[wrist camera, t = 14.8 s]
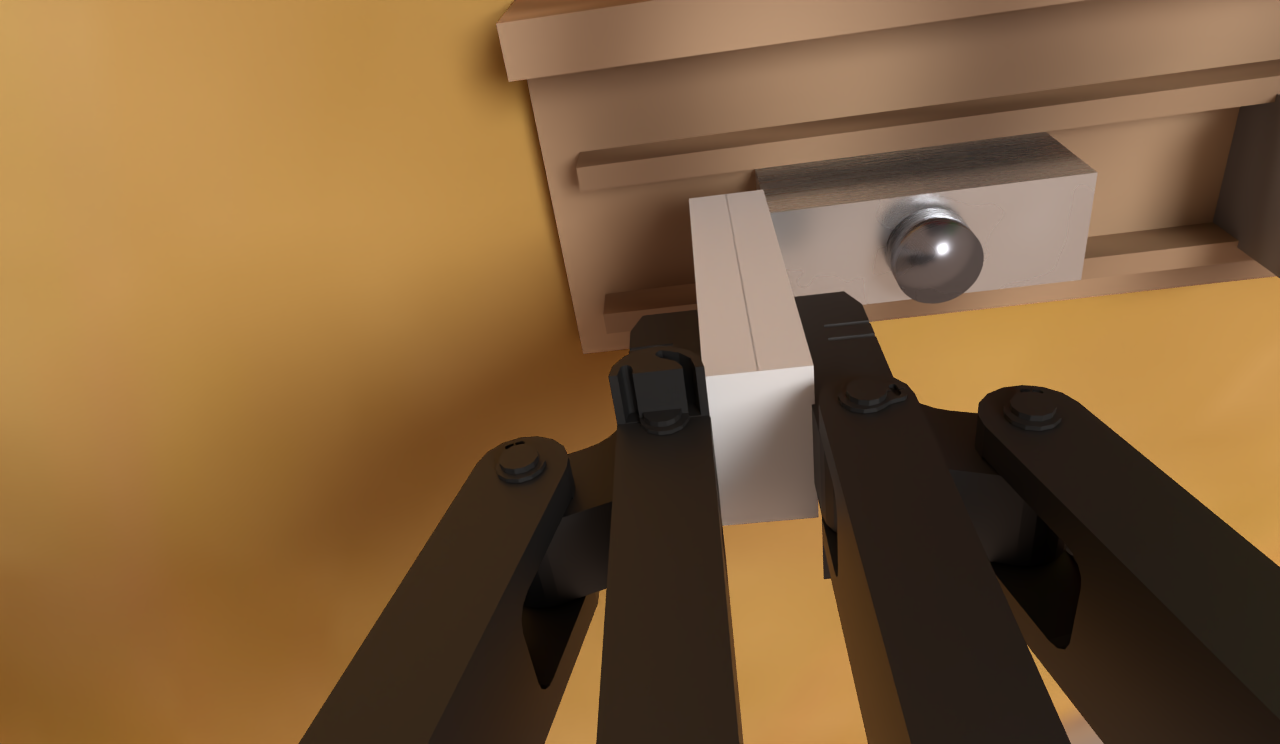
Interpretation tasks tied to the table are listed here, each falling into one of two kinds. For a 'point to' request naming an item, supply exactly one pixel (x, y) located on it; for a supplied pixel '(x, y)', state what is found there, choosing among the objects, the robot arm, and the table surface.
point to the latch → (933, 219)
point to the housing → (900, 125)
